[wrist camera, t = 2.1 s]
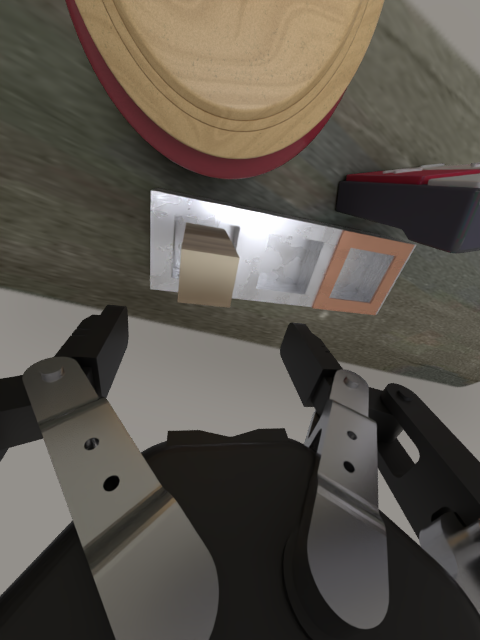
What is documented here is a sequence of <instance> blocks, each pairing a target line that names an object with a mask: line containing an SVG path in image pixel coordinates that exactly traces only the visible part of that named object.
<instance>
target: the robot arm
mask: <svg viewBox="0 0 480 640" xmlns="http://www.w3.org/2000/svg"><path fill="white" fill-rule="evenodd" d="M127 344H128V313H127V307H126V306H116V305H107V306H106V307H105V309H104V310H103V312H102V313H101V315H91V316H90V317H88V318H86V319H84V320H83V321H82V322H81V323H80V325H79V326H78V327H77V329H76V330H75V331H74V332H73V333H72V336H70V337H69V338H68V340H67V341H66V342H65V344H64V345H63V346H62V347H61V349H60V350H59V351H58V352H57V354H56V355H55V356H54V357H52V358H48V359H44V360H41V361H39V362H37V363H35V364H33V365H32V366H30V367H29V368H28V369H27V370H26V371H25V372H24V374H23V375H20V376H15V377H9V378H3V379H0V461H1V460H2V458H3V456H4V455H5V453H6V452H7V450H8V448H10V447H14V446H17V445H21V444H25V443H28V442H32V441H36V440H39V439H44V441H45V444H46V447H47V450H48V453H49V455H50V458H51V461H52V464H53V466H54V469H55V472H56V475H57V477H58V480H59V483H60V486H61V489H62V491H63V494H64V497H65V500H66V502H67V505H68V508H69V511H70V513H71V516H72V519H73V521H72V522H71V523H70V524H69V525H68V526H67V527H66V528H65V529H64V530H63V531H62V532H61V533H60V534H59V535H58V536H57V537H56V538H55V540H54V541H53V542H52V543H51V544H50V545H49V546H48V547H47V548H46V549H45V550H44V551H43V552H42V553H41V554H40V555H39V556H38V557H37V558H36V560H34V561H33V562H32V564H31V565H30V566H29V567H28V568H27V569H26V570H25V571H24V572H23V573H22V574H21V575H20V576H19V577H18V578H17V579H16V580H15V581H14V583H12V585H10V587H9V588H8V589H7V590H6V591H5V592H4V593H3V594H2V595H1V596H0V640H480V462H479V461H478V460H477V459H476V458H475V457H474V456H473V454H472V453H471V452H470V451H469V450H468V449H467V448H466V447H465V446H464V445H463V444H462V443H461V442H460V441H459V440H458V439H457V438H456V436H455V435H454V434H453V433H452V432H451V431H450V430H449V429H448V428H447V427H446V426H445V425H444V424H443V423H442V422H441V421H440V419H439V418H438V417H437V416H436V415H435V414H434V413H433V412H432V411H431V410H430V409H429V408H428V407H427V406H426V405H425V403H424V402H423V401H422V400H421V399H420V398H419V397H418V396H417V395H416V394H415V393H413V392H412V391H411V390H409V389H407V388H405V387H404V386H402V385H399V384H394V383H391V384H388V385H387V386H386V388H385V389H384V390H383V391H381V390H378V389H374V388H371V387H368V384H367V383H366V381H365V380H364V379H363V378H362V377H360V376H359V375H357V374H356V373H354V372H351V371H348V370H343V369H342V367H341V366H340V364H339V363H338V362H337V360H336V359H335V358H334V356H333V355H332V354H331V353H330V351H329V350H328V349H327V347H326V346H325V345H324V343H323V342H322V341H321V339H319V338H318V337H317V336H315V335H314V334H312V333H311V331H310V330H309V328H308V327H307V326H306V325H305V324H301V323H290V324H289V325H288V328H287V330H286V333H285V336H284V339H283V342H282V344H281V348H280V355H281V358H282V360H283V362H284V365H285V367H286V369H287V371H288V373H289V375H290V377H291V380H292V382H293V384H294V386H295V388H296V390H297V392H298V395H299V397H300V399H301V401H302V403H303V405H304V407H315V409H316V410H315V412H314V414H313V417H312V420H311V423H310V426H309V430H308V433H307V436H306V439H305V443H304V444H302V443H300V442H297V441H295V440H293V439H290V438H288V437H287V434H286V431H285V429H284V428H280V429H257V430H253V431H250V432H247V433H244V434H240V435H237V436H233V437H227V436H223V435H218V434H214V433H209V432H205V431H200V430H190V431H168V436H167V441H165V442H162V443H159V444H157V445H154V446H152V447H150V448H148V449H146V450H145V451H143V452H140V451H139V449H138V448H137V446H136V445H135V443H134V441H133V440H132V438H131V437H130V435H129V434H128V432H127V430H126V429H125V427H124V426H123V424H122V422H121V421H120V419H119V418H118V416H117V415H116V413H115V411H114V410H113V408H112V406H111V405H110V403H109V402H108V400H107V399H106V397H107V395H108V392H109V390H110V388H111V385H112V383H113V380H114V378H115V375H116V373H117V370H118V368H119V365H120V363H121V361H122V358H123V355H124V353H125V350H126V348H127ZM402 430H404V431H405V432H406V433H407V435H408V436H409V437H410V439H412V441H413V442H414V444H415V445H416V447H417V448H418V450H419V453H420V458H419V461H418V462H417V463H416V464H414V462H413V461H412V459H411V458H410V457H409V455H408V454H407V452H406V451H405V449H404V448H403V447H402V445H401V444H400V442H399V441H398V440H397V438H396V437H397V436H398V435H399V434H400V433H401V432H402ZM378 469H379V470H380V472H381V474H382V476H383V477H384V479H385V481H386V483H387V484H388V486H389V488H390V490H391V491H392V493H393V495H394V497H395V498H396V500H397V502H398V503H399V505H400V507H401V509H402V510H403V512H404V514H405V516H406V518H407V520H408V521H409V523H410V525H411V526H412V528H413V530H414V532H415V533H416V535H417V537H418V539H419V541H420V545H421V547H420V546H419V545H418V544H417V543H416V542H415V541H414V540H412V538H410V537H409V536H408V535H407V534H406V533H405V532H404V531H403V530H401V529H400V528H399V527H398V526H397V525H396V524H395V523H394V522H393V521H392V520H390V519H389V518H388V517H387V516H386V515H385V514H384V513H383V512H381V511H380V510H379V509H378Z"/></svg>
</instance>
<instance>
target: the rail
mask: <svg viewBox="0 0 480 640" xmlns="http://www.w3.org/2000/svg"><path fill="white" fill-rule="evenodd" d="M186 222H188V223H193V224H199V225H204V226H210V227H215V228H221V229H225V230H226V232H227V234H228V236H229V238H230V240H231V242H232V244H233V246H234V248H235V250H236V252H237V254H238V256H239V257H240V259H239V264H238V269H237V274H236V279H235V284H234V289H233V294H232V298H235V299H244V300H253V301H262V302H271V303H280V304H289V305H298V306H307V307H312V308H316V309H325V310H334V311H343V312H352V313H361V314H371V315H375V314H377V313H378V311H379V310H380V308H381V306H382V304H383V303H384V301H385V299H386V297H387V296H388V294H389V292H390V290H391V289H392V287H393V285H394V283H395V282H396V280H397V278H398V276H399V275H400V273H401V271H402V269H403V268H404V266H405V264H406V262H407V261H408V259H409V257H410V255H411V254H412V252H413V250H414V248H415V247H416V245H415V244H412V243H409V242H405V241H402V240H399V239H396V238H393V237H390V236H385V235H380V234H375V233H371V232H366V231H361V230H356V229H351V228H347V227H342V226H337V225H332V224H328V223H323V222H318V221H313V220H309V219H304V218H299V217H294V216H290V215H285V214H280V213H275V212H271V211H266V210H261V209H256V208H252V207H247V206H242V205H237V204H233V203H228V202H223V201H218V200H214V199H209V198H204V197H199V196H195V195H190V194H185V193H180V192H176V191H171V190H166V189H161V188H155V189H153V190H151V234H150V289H154V290H163V291H172V292H178V288H179V274H180V260H181V248H182V243H183V238H184V232H185V227H186Z"/></svg>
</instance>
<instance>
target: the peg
mask: <svg viewBox="0 0 480 640" xmlns="http://www.w3.org/2000/svg"><path fill="white" fill-rule="evenodd" d="M239 259H240V257H239V256H238V254H237V252H236V250H235V248H234V246H233V244H232V242H231V240H230V238H229V236H228V234H227V232H226V230H225V229H221V228H215V227H210V226H204V225H199V224H193V223H188V222H186V227H185V232H184V238H183V243H182V248H181V260H180V274H179V288H178V302H179V303H189V304H199V305H209V306H219V307H229V308H230V304H231V299H232V294H233V289H234V284H235V279H236V274H237V269H238V264H239Z"/></svg>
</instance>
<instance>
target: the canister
mask: <svg viewBox="0 0 480 640" xmlns="http://www.w3.org/2000/svg"><path fill="white" fill-rule="evenodd" d="M65 1H66V4H67V8H68V11H69V14H70V17H71V20H72V22H73V25H74V28H75V30H76V33H77V36H78V38H79V40H80V43H81V45H82V47H83V50H84V52H85V54H86V56H87V58H88V60H89V62H90V64H91V66H92V68H93V70H94V72H95V74H96V76H97V77H98V79H99V81H100V83H101V85H102V86H103V88H104V89H105V91H106V92H107V94H108V96H109V97H110V99H111V100H112V102H113V103H114V104H115V106H116V107H117V109H118V110H119V111H120V113H121V114H122V115H123V116H124V118H125V119H126V120H127V122H128V123H129V124H130V125H131V126H132V127H133V128H134V129H135V130H136V132H137V133H138V134H139V135H140V136H141V137H142V138H143V139H144V140H145V141H146V142H148V143H149V144H150V145H151V146H152V147H153V148H155V149H156V150H157V151H158V152H160V153H161V154H162V155H164V156H165V157H167V158H168V159H170V160H171V161H173V162H174V163H176V164H178V165H180V166H182V167H184V168H186V169H188V170H190V171H192V172H195V173H198V174H201V175H205V176H209V177H213V178H219V179H243V178H250V177H255V176H258V175H261V174H265V173H267V172H269V171H272V170H274V169H276V168H278V167H280V166H282V165H283V164H285V163H286V162H288V161H290V160H291V159H292V158H294V157H295V156H296V155H298V154H299V153H300V152H301V151H302V150H303V149H304V148H305V147H306V146H307V145H308V144H309V143H310V142H311V141H312V140H313V139H314V138H315V137H316V136H317V135H318V134H319V132H320V131H321V130H322V128H323V127H324V126H325V125H326V123H327V122H328V120H329V119H330V117H331V116H332V114H333V113H334V111H335V109H336V108H337V106H338V104H339V102H340V101H341V99H342V97H343V95H344V93H345V91H346V89H347V87H348V85H349V83H350V81H351V80H352V78H353V76H354V74H355V73H356V71H357V69H358V67H359V65H360V63H361V61H362V59H363V57H364V54H365V52H366V50H367V48H368V46H369V43H370V41H371V38H372V36H373V33H374V30H375V28H376V25H377V22H378V19H379V16H380V13H381V10H382V6H383V3H384V0H65Z"/></svg>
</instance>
